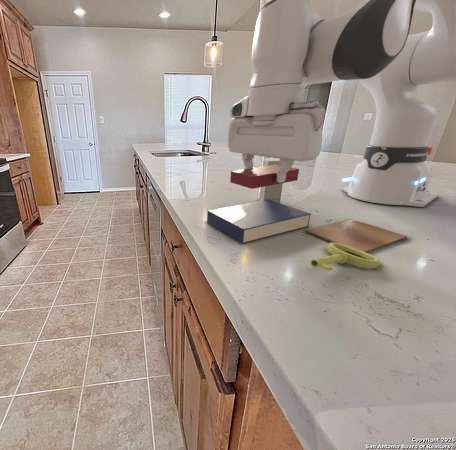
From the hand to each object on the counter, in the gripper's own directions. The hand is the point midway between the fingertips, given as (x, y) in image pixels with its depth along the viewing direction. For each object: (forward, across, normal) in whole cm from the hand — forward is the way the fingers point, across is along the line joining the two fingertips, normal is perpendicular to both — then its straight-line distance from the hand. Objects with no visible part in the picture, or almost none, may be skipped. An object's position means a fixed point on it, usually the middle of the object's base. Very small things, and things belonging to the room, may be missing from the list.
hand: (263, 178), depth 51 cm
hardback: (+10, 0, 0) cm, 11 cm away
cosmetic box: (+11, +10, -13) cm, 20 cm away
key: (+11, -18, 0) cm, 21 cm away
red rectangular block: (+1, 0, 0) cm, 1 cm away
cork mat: (+11, -13, -12) cm, 21 cm away
